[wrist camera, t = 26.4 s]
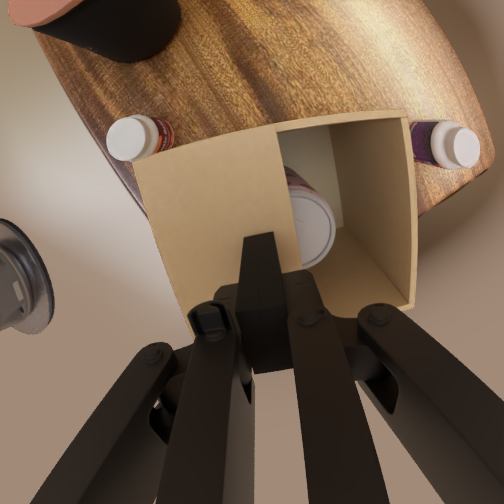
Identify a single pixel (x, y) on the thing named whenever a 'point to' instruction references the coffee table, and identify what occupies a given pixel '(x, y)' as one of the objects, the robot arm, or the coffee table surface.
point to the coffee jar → (103, 24)
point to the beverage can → (310, 220)
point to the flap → (216, 209)
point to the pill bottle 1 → (139, 137)
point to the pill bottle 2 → (444, 144)
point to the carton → (360, 204)
